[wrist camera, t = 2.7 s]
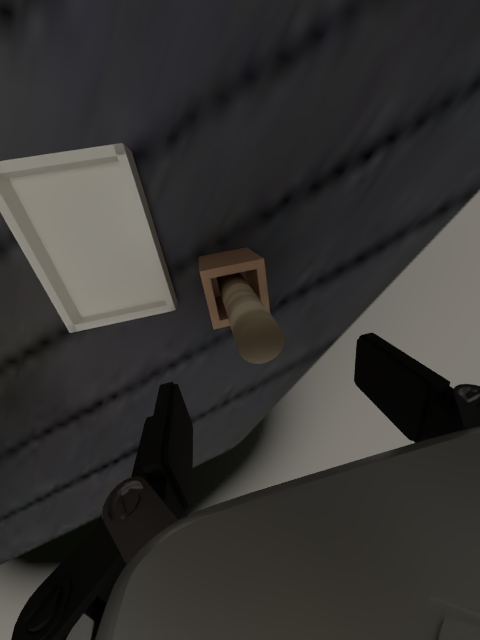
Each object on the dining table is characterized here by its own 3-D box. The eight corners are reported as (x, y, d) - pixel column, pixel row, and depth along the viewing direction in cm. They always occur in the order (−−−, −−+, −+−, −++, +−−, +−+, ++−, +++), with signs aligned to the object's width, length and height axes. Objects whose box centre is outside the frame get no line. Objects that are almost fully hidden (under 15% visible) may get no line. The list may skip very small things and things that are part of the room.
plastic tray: (1, 171, 21) (-27, 165, 18) (131, 151, 22) (122, 143, 20) (81, 321, 28) (69, 332, 26) (177, 301, 29) (175, 310, 27)
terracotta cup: (198, 256, 27) (199, 271, 20) (246, 247, 28) (263, 258, 21) (209, 302, 30) (213, 329, 23) (253, 292, 31) (270, 316, 23)
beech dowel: (214, 268, 27) (233, 327, 13) (238, 263, 28) (283, 316, 13) (219, 291, 29) (241, 368, 14) (242, 286, 29) (286, 357, 15)
